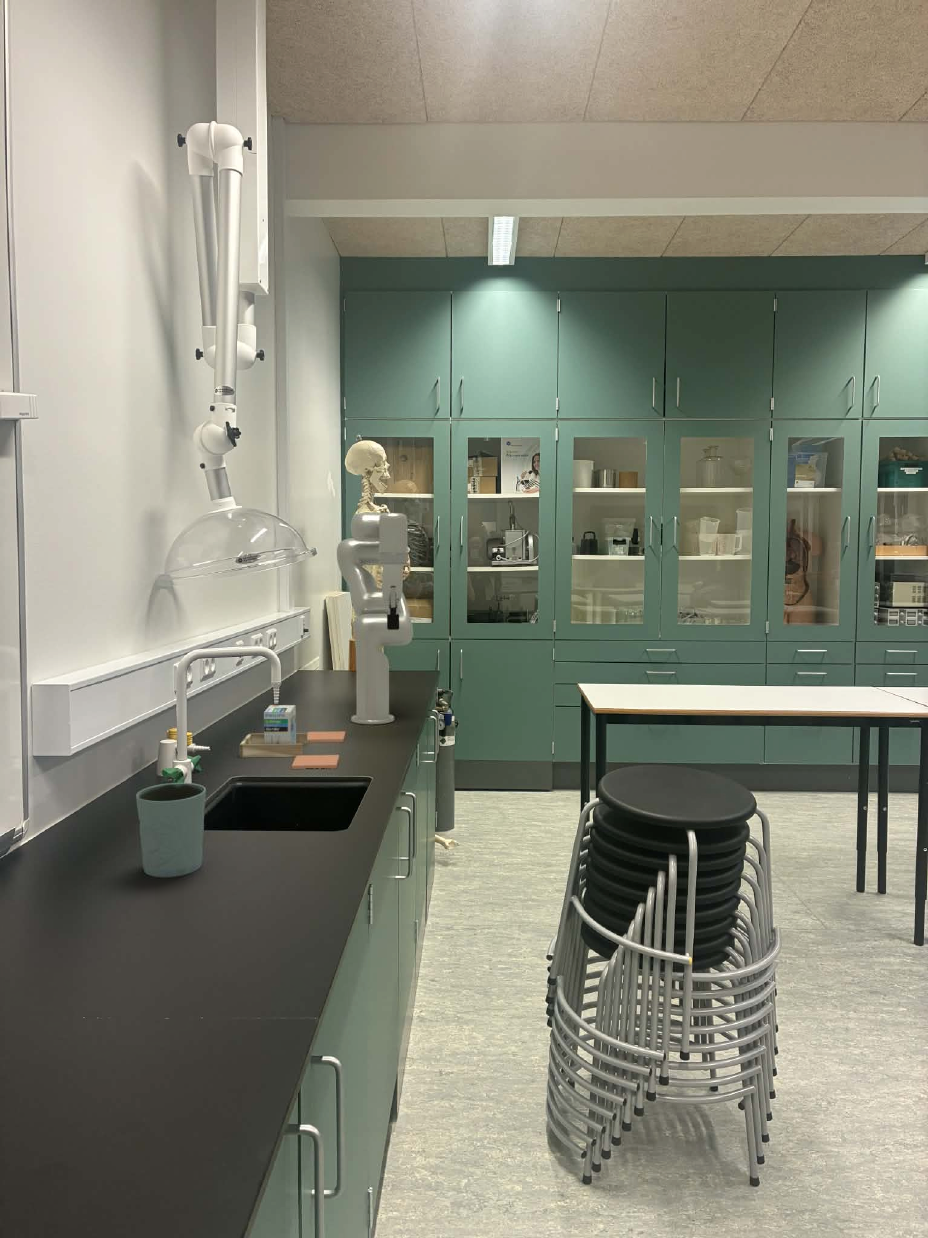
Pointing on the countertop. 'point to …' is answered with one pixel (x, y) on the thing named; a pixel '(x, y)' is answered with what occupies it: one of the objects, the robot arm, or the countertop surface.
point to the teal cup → (171, 828)
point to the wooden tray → (270, 747)
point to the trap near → (315, 761)
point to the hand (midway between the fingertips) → (393, 629)
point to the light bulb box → (280, 724)
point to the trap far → (325, 737)
